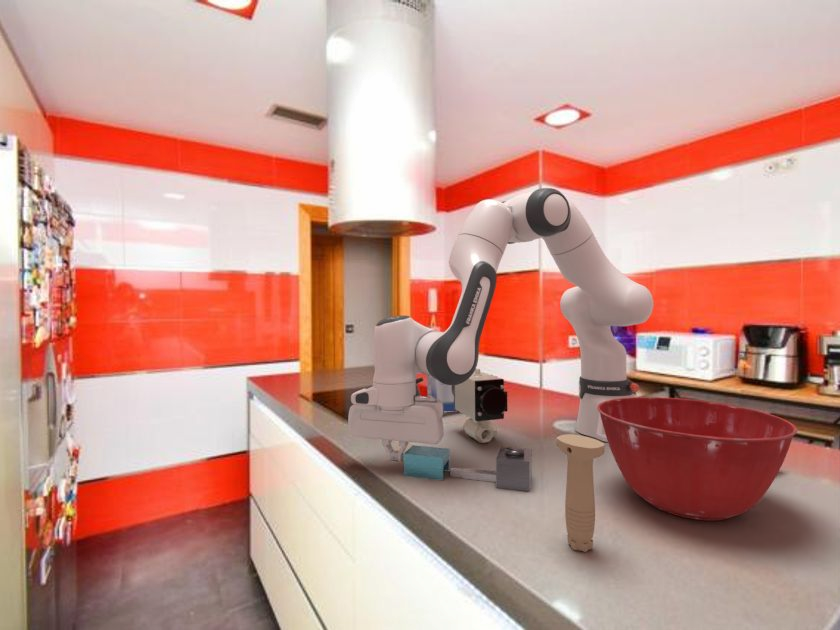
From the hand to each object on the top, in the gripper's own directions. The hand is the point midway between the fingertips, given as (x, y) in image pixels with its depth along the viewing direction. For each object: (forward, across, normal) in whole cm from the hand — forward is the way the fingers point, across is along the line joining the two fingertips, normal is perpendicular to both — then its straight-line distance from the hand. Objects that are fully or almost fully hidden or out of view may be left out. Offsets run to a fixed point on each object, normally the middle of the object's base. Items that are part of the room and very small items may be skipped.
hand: (395, 460), depth 92 cm
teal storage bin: (+2, -7, 0) cm, 7 cm away
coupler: (+2, -20, 0) cm, 20 cm away
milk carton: (+2, +3, -51) cm, 51 cm away
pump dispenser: (+2, +8, -28) cm, 29 cm away
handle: (+2, -35, +20) cm, 41 cm away
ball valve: (+2, -13, -25) cm, 28 cm away
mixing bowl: (+2, -53, 0) cm, 53 cm away
